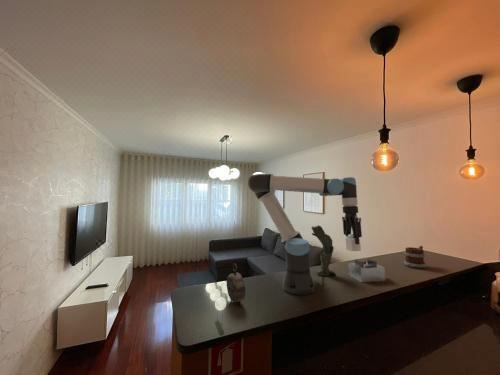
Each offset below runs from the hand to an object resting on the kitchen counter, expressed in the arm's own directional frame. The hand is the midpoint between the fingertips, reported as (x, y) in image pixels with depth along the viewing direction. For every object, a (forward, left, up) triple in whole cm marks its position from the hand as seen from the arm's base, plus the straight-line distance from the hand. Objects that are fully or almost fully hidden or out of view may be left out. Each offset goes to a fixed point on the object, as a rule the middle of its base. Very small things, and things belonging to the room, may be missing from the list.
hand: (353, 249), depth 110 cm
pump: (0, 0, 0) cm, 0 cm away
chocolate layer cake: (+58, +19, -17) cm, 63 cm away
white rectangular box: (+11, +5, -17) cm, 21 cm away
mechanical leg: (-9, +15, -17) cm, 25 cm away
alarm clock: (-64, -13, -17) cm, 68 cm away
